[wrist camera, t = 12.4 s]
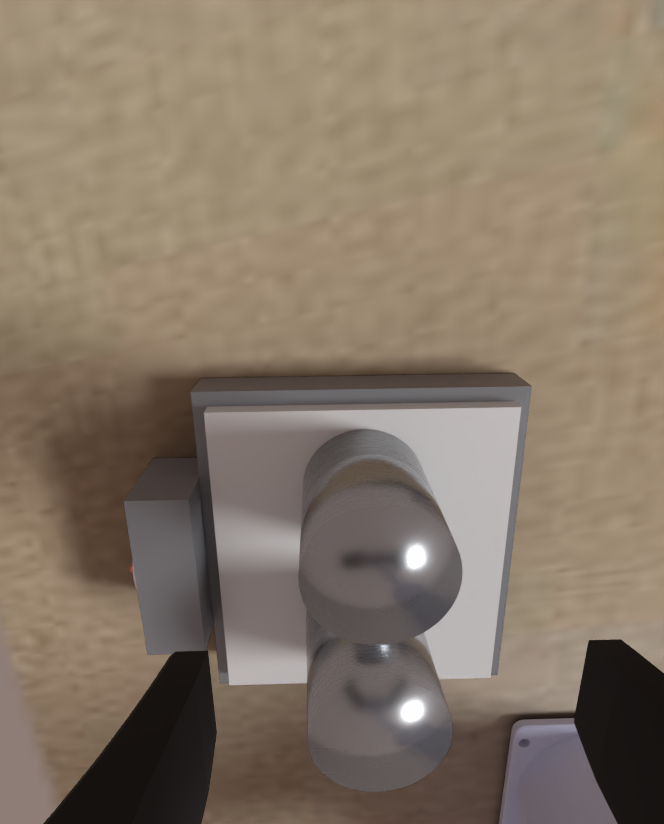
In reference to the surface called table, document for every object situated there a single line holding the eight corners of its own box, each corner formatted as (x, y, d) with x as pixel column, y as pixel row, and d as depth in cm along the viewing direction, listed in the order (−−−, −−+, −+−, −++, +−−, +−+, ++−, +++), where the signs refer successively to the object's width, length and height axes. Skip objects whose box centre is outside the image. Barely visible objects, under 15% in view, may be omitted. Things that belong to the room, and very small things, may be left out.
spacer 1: (430, 432, 17) (474, 509, 13) (416, 540, 19) (450, 647, 14) (306, 425, 17) (302, 501, 12) (300, 535, 18) (294, 642, 14)
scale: (485, 645, 23) (511, 709, 20) (171, 653, 23) (149, 720, 20) (514, 373, 19) (552, 401, 16) (133, 379, 19) (98, 409, 16)
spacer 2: (408, 559, 19) (444, 667, 14) (422, 651, 20) (459, 777, 15) (296, 580, 19) (295, 694, 14) (316, 670, 20) (322, 803, 15)
